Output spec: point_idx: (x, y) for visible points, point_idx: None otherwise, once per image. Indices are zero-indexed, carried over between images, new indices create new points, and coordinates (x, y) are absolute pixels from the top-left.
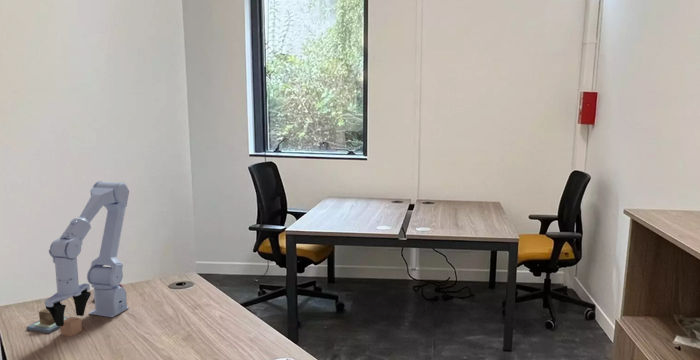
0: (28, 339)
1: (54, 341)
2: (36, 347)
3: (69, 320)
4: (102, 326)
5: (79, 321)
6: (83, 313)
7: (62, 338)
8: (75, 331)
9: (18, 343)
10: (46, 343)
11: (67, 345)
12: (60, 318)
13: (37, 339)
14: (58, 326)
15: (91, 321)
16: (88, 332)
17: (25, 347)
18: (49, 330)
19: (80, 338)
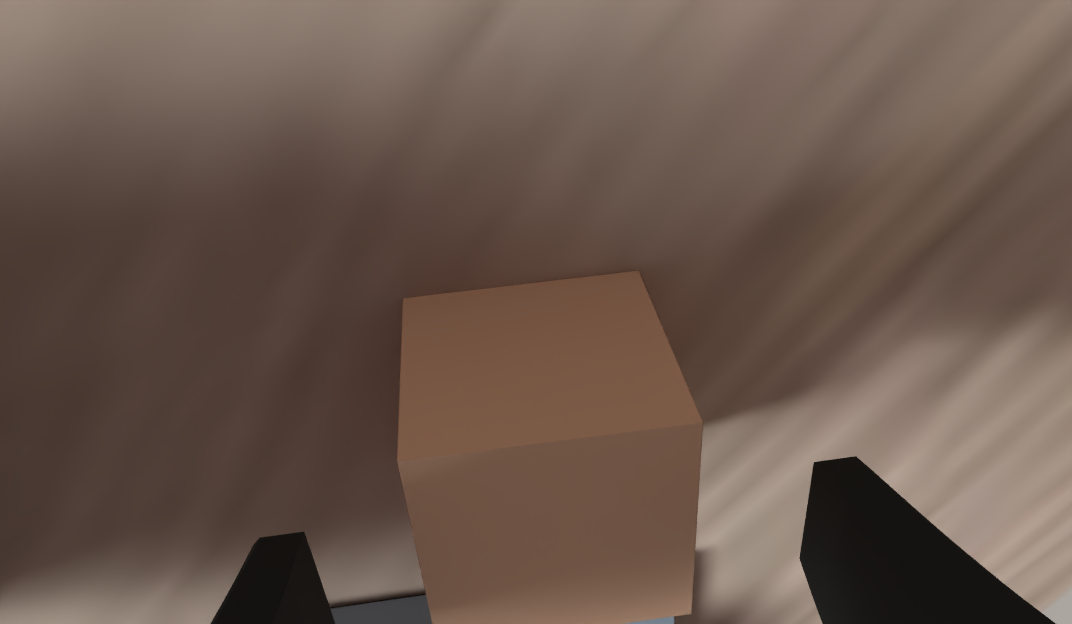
0: None
1: (855, 335)
2: (1051, 383)
3: (572, 553)
4: (61, 94)
5: (449, 419)
6: (261, 569)
7: (744, 320)
8: (553, 304)
9: None
10: (928, 374)
11: (963, 23)
12: (1021, 602)
13: None
14: None
15: (83, 439)
16: (406, 124)
17: (1053, 483)
18: None
19: (663, 44)
